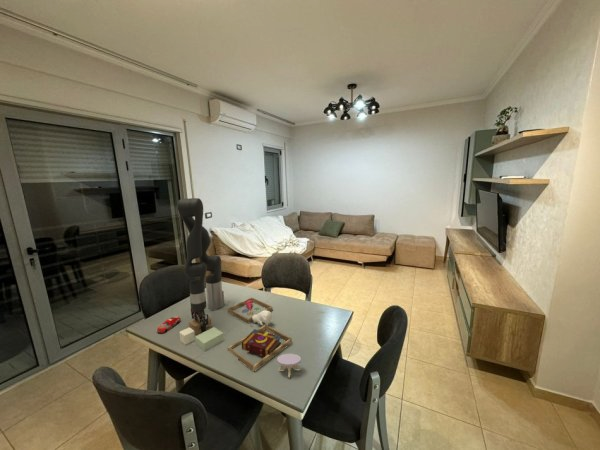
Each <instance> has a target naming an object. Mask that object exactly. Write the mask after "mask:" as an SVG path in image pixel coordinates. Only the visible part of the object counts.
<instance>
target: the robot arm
mask: <svg viewBox="0 0 600 450" xmlns="http://www.w3.org/2000/svg"><path fill="white" fill-rule="evenodd" d="M177 211H178V214H179V215H180V218H181V219H182V221H183V223H184V225H185V227H186V229H187V231H188V233H189V234H188V236H187V238H186V242H185V243H186V260H185V265H184V270H183V273H184V275H185V276H186V277H187V278H194V277H198V278H196V279H194V280H191V281H190V282H189V302H190V303H189V304H190V315H191V320H196V319H197V318H198V320H199V322H200V324H201V331H202V332H201V333H203V332H205V331H207V330H206V325H208V317H209V314H206V312H205V309H206V308H207V309H208V310H210V311H216V310H219V309H221V308H223V307H224V306H225V296H224V294H225V293H224V290H223V286H222V285H223V283H222V259H221V256H219V255H208V254H207V251H208V250H209V247H210V245H211V243H212V241H211V237H210V234H209V231H208V230H207V229H206V228H205V227H204V226H203V224H204V223H203V221H204V220H203V219H204V203H203V201H202V199H200V198H196V197H195V198H193V197H192V198H180V199H179V200H178V201H177ZM195 259H199V262H193V260H195ZM207 272H213V273H211V274H209V275H207ZM206 275H207V276H206ZM205 288H206V289H205ZM205 290H206V291H205ZM200 319H202V320H200ZM202 321H203V324H202Z"/></svg>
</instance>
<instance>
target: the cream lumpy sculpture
mask: <svg viewBox="0 0 600 450" xmlns="http://www.w3.org/2000/svg"><path fill="white" fill-rule="evenodd" d="M256 314H257V315H256ZM256 314H254V315H252V316H251V317H252V320H253V323H254V324H256V323H257V324H259V325H261V326H264V325H267V326H269V325H270V324H271V322H272V320H273V314H272V311H271V312H270V311H266V309H264V310H262V311H259V314H258V313H256ZM263 323H265V324H263Z"/></svg>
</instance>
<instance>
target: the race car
mask: <svg viewBox="0 0 600 450" xmlns="http://www.w3.org/2000/svg"><path fill="white" fill-rule="evenodd" d="M181 319H182V318H181V317H180V316H177V315H176V316H172V317H169V318H168V319H166V320H165V321H164V322H162V324H161V325H160V326H158V327H157V333H158V334H164V333H167V332H168V331H169V330H171V329H173V328H174V327H175V326H177V325H179V324H180V323H181V322H182V320H181Z"/></svg>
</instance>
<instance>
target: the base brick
mask: <svg viewBox="0 0 600 450" xmlns="http://www.w3.org/2000/svg"><path fill="white" fill-rule="evenodd" d="M223 338H224V332H222V331H221V330H220V329H218V328H216V327H215V326H213V327H210V328H209V329H207V330H206V331H204V332H201V333H199V334H197V335H195V340H194V342H195V341H196V345H197V346H199V347H200V348H201V349H202V350H203V351H206V350H208V349H209V348H211V347H213V346H215V345H216V344H218V343H220V342H222V341H223Z"/></svg>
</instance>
